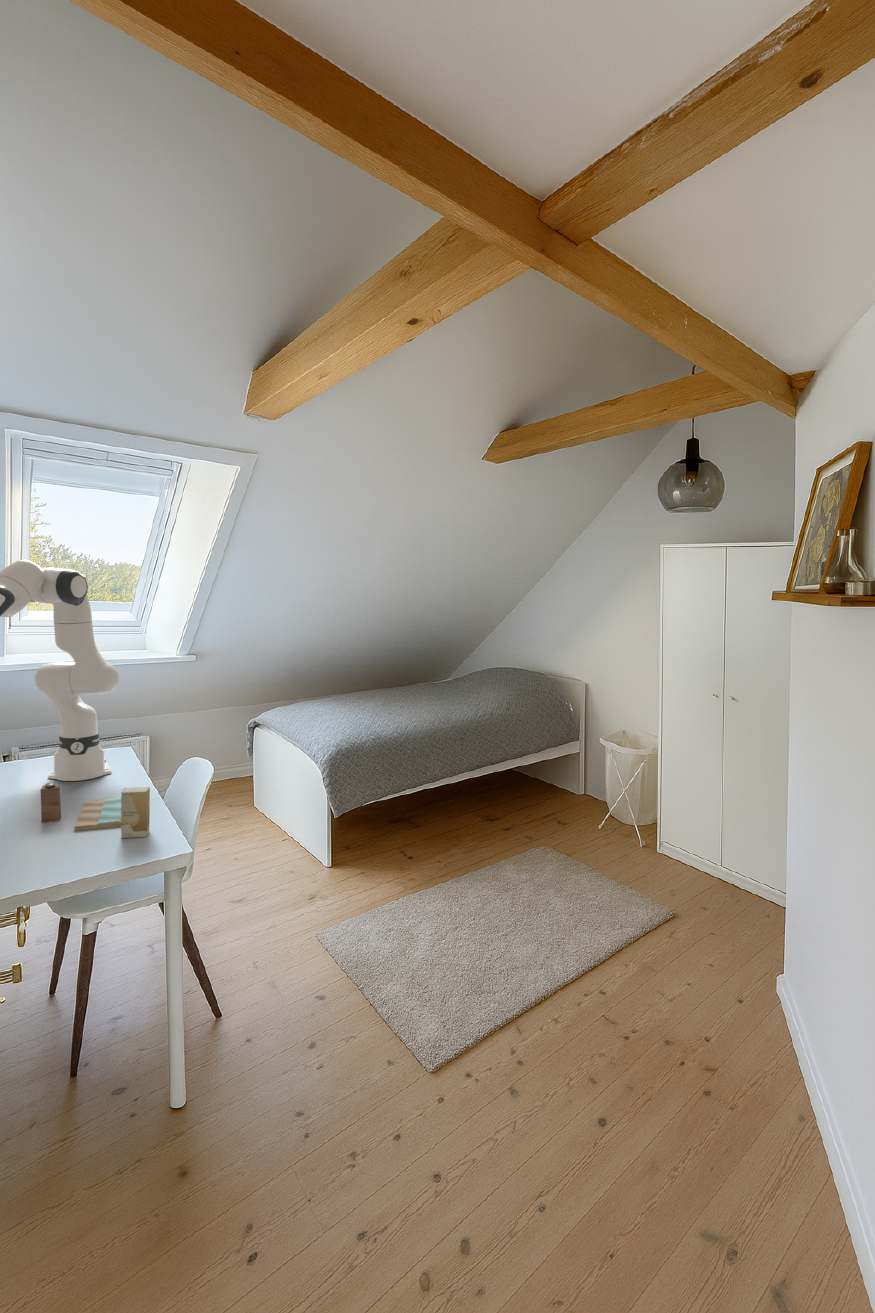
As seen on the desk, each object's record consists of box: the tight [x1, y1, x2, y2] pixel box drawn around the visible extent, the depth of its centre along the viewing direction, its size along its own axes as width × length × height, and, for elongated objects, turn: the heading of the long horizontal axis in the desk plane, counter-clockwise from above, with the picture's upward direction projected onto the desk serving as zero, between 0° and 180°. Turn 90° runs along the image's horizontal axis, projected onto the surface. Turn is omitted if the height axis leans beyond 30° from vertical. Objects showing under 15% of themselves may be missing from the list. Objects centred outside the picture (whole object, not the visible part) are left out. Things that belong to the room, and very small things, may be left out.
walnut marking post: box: [40, 782, 62, 823], centre depth 173 cm, size 4×4×10 cm
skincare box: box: [120, 786, 151, 839], centre depth 164 cm, size 6×4×12 cm
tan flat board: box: [73, 796, 121, 832], centre depth 178 cm, size 22×15×2 cm
